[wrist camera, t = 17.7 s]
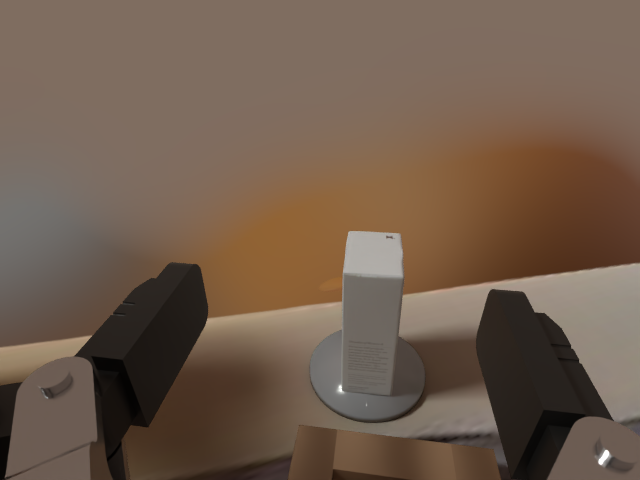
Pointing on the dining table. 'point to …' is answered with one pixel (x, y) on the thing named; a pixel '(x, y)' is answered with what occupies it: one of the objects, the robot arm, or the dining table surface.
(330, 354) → the slate coaster
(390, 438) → the pocket block
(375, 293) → the skincare box
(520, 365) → the robot arm
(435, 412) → the dining table surface
